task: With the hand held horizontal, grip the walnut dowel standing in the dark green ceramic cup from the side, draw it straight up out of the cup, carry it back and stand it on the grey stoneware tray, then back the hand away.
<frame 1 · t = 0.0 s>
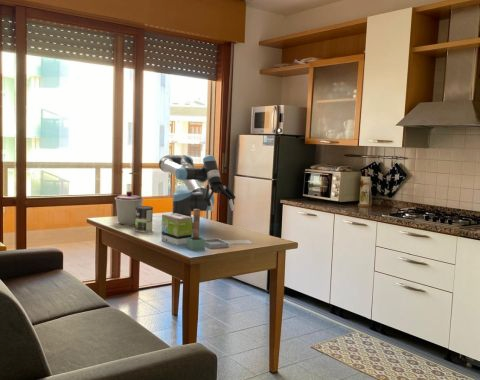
hand: (222, 210, 273), 15 cm above the table, tool tilted 35°, fingers open, 13 cm apart
tea box: (176, 242, 253), on the table
tray: (213, 246, 248), on the table
coffee can: (143, 230, 282), on the table
dowel: (195, 248, 239), resting on cup
canister: (128, 223, 302), on the table
cup: (195, 249, 239), on the table
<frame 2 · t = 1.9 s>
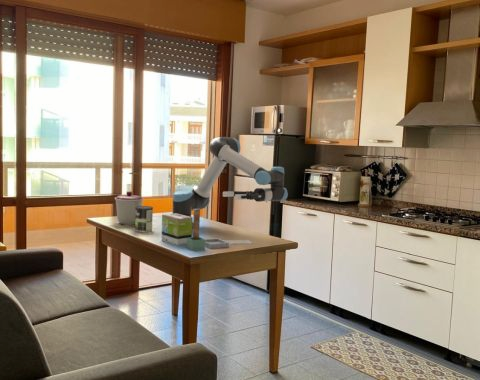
hand: (228, 195, 252), 26 cm above the table, tool horizontal, fingers open, 13 cm apart
nothing on the table moved.
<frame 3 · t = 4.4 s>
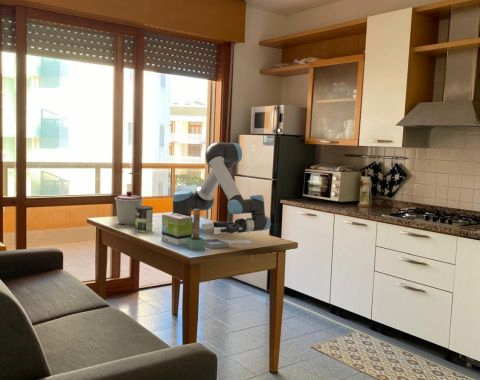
hand: (208, 228, 240), 10 cm above the table, tool horizontal, fingers open, 13 cm apart
nothing on the table moved.
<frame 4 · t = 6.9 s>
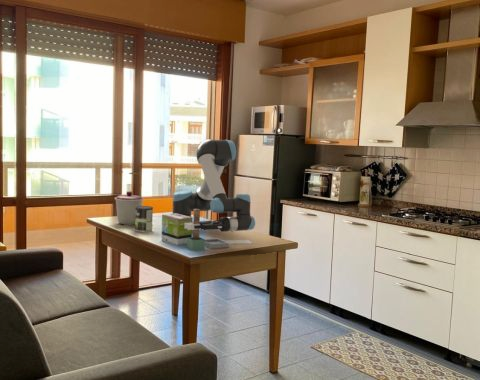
hand: (186, 226, 235), 12 cm above the table, tool horizontal, fingers closed on dowel, 3 cm apart
dowel: (195, 248, 239), resting on cup, touching gripper
everything else where it was.
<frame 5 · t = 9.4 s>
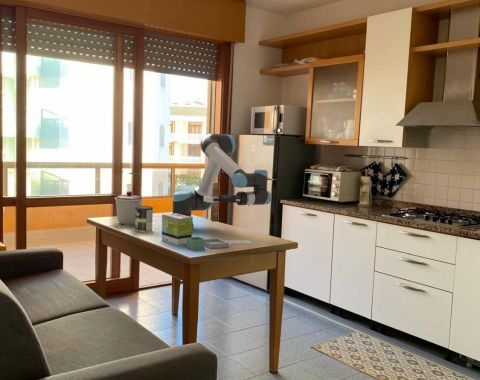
hand: (205, 199, 242), 25 cm above the table, tool horizontal, fingers closed on dowel, 3 cm apart
dowel: (214, 221, 246), point 13 cm above the table, touching gripper
everything else where it was.
when the fingers open (14 cm above the table, at t = 11.7 s): dowel stays where it is, resting on tray.
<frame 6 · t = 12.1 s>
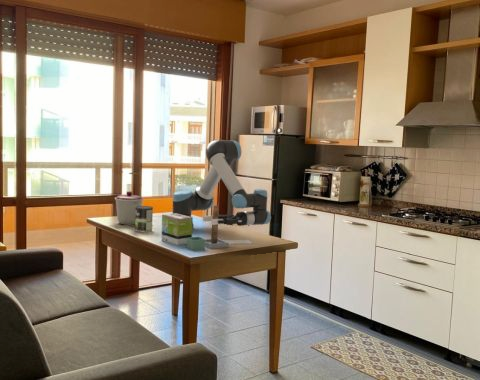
hand: (207, 220, 244), 14 cm above the table, tool horizontal, fingers open, 9 cm apart
dowel: (214, 243, 248), point 2 cm above the table, touching tray
everything else where it was.
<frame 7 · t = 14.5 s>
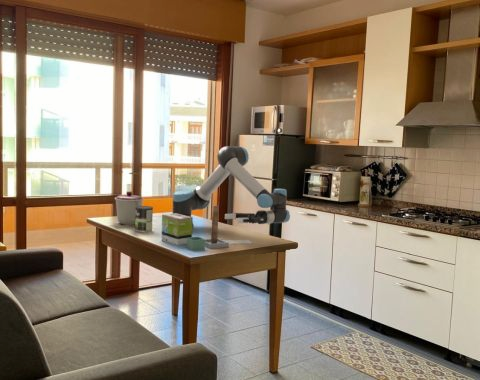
hand: (231, 218, 251), 14 cm above the table, tool horizontal, fingers open, 13 cm apart
nothing on the table moved.
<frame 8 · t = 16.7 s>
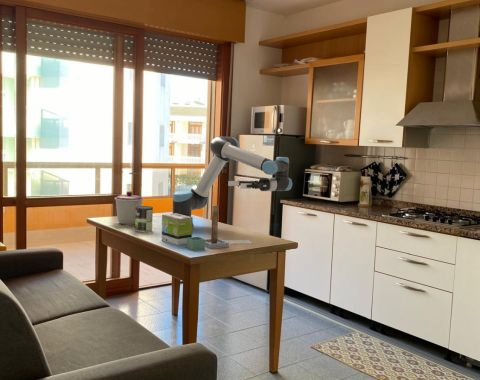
hand: (234, 184, 256), 32 cm above the table, tool horizontal, fingers open, 13 cm apart
nothing on the table moved.
at the end: dowel inside the target area on the tray (0.0 cm from its centre), point 1.5 cm above the tray's base; dowel moved 12.4 cm from its start; the gripper is holding nothing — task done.
